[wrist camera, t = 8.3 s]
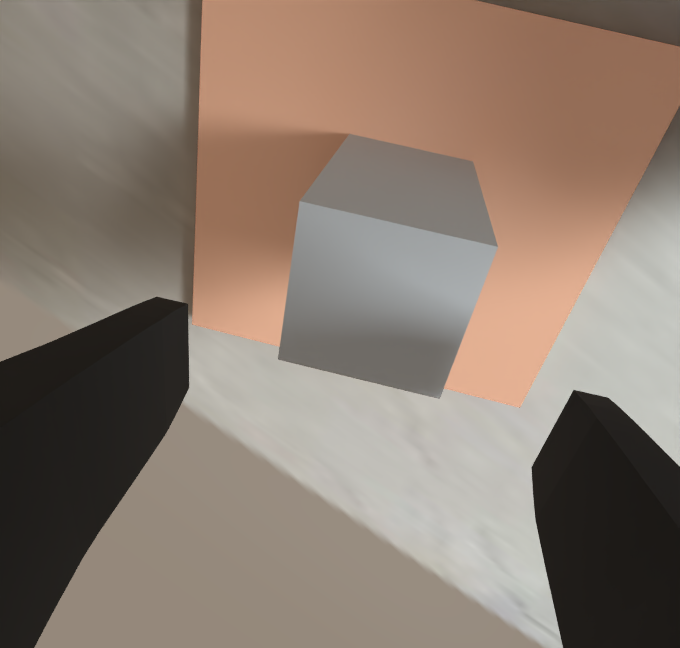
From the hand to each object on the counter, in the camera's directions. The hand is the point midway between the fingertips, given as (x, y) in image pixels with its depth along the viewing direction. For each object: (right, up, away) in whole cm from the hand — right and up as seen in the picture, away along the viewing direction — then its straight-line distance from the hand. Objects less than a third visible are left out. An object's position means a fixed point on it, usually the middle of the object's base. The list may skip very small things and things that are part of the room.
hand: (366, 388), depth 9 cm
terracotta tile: (+1, +5, +8) cm, 10 cm away
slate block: (+1, +5, +7) cm, 9 cm away
